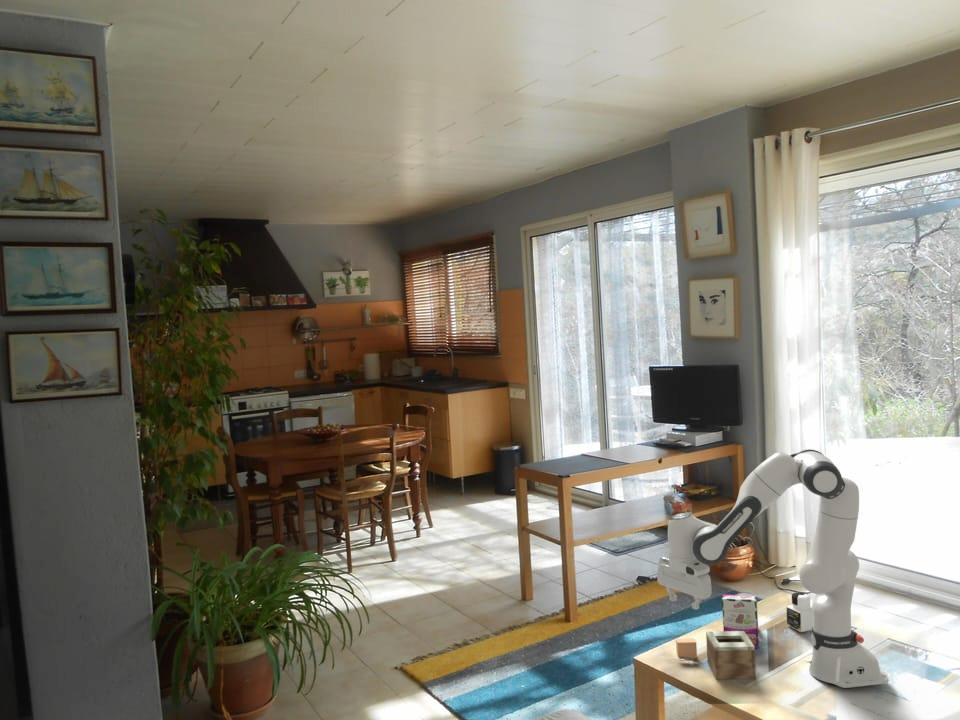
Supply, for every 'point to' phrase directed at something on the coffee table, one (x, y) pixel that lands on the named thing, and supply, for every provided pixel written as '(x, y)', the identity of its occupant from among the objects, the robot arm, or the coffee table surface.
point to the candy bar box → (741, 615)
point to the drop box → (731, 655)
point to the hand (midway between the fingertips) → (684, 604)
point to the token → (686, 648)
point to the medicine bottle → (800, 612)
